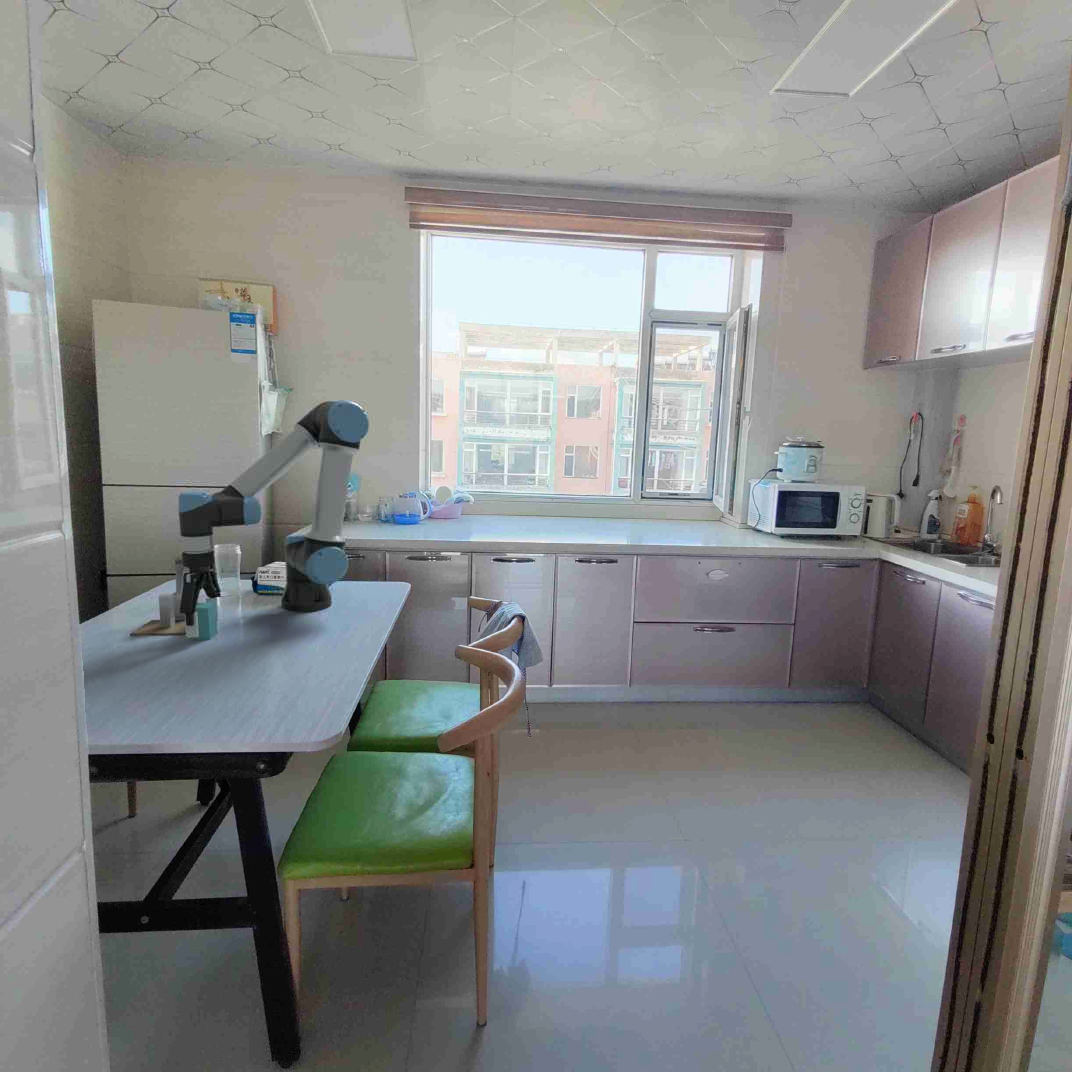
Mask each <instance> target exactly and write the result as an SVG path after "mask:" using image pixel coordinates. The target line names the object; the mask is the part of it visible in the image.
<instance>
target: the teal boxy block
mask: <svg viewBox="0 0 1072 1072" xmlns="http://www.w3.org/2000/svg"><path fill="white" fill-rule="evenodd" d="M195 612H197V619H198V634H199V636H198V637H188V640H192V641H193V640H211V639H212V638H213V637H214V636H216V635H217V634H218V621H217V615H216V603H206V602H197V605H196V610H195Z"/></svg>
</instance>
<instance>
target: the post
mask: <svg viewBox="0 0 1072 1072" xmlns="http://www.w3.org/2000/svg"><path fill="white" fill-rule="evenodd" d="M158 606H159V620H160V622H161V628H171V627H173V626H174V625H175V615H174V601H173V594H172V593H162V594H160V595H158Z"/></svg>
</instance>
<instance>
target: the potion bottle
mask: <svg viewBox="0 0 1072 1072" xmlns="http://www.w3.org/2000/svg"><path fill="white" fill-rule="evenodd" d="M171 566H172V569H173V571H174V572H175V592H173V593H171V594H173V601H174V615H175V620H185V613H180V605H181V597H182V590H183V575H184V574H185V571H186V570H187V568H188V567H184V566H183V564H182V555H179V556H177V557H175V558H174V563H172V564H171Z"/></svg>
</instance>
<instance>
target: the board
mask: <svg viewBox="0 0 1072 1072" xmlns="http://www.w3.org/2000/svg"><path fill="white" fill-rule="evenodd" d="M129 636H130V637H132V636H133V637H136V636H137V637H138V636H139V637H142V636H145V637H146V636H147V637H151V636H154V637H155V636H159V637H160V636H186V626H185V620H175V625H174V626H173V627H171V628H161V622H160V619H151V620H149V621H147V622H146V623H145V624H143V625H141V626H139V627H138V628H137V629H135V630H133V631H132V632H130V633H129Z"/></svg>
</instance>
